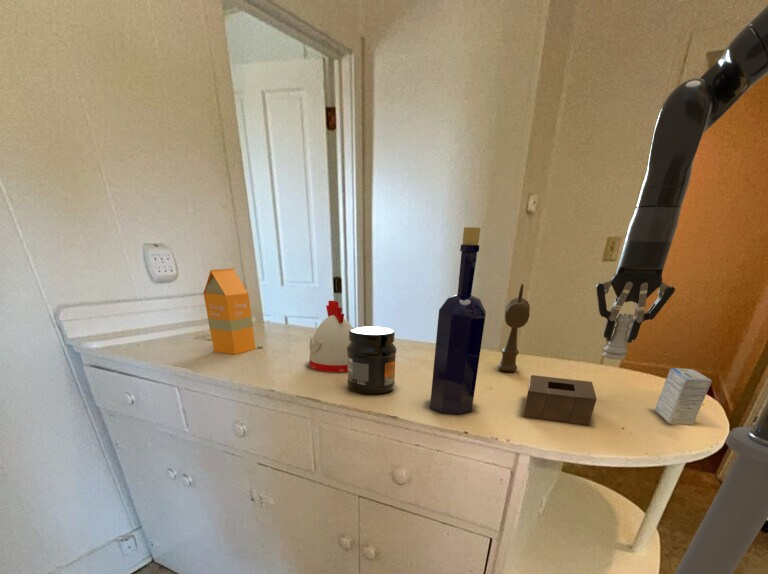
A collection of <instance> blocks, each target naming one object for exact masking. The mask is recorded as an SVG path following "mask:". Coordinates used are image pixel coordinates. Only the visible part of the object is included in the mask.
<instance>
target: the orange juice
mask: <svg viewBox="0 0 768 574" xmlns="http://www.w3.org/2000/svg"><path fill="white" fill-rule="evenodd" d="M204 287H205V288H204V290H203V293H202V294H203V299H204V304H205V309H206V315H207V323H208V327H209V331H210V332H209V333H210V338H211V343H212V348H213V352H216V353H222V354H228V355H234V356H235V355H239V354H243V353H245V352H246V353H247V352H250V351H253V350H255V349H256V341H255V335H254V333H255V332H254V324H253V316H252V310H251V304H250V296H249V295H250V294H249V292H248V290H247V289H246V287H245V285H244V284H243V282H242V281H241V278H240V277H239V276H238V274H237V272H236V271H235V268H223V269H222V268H221V269H211V270H209V273H208V277H207V281H206V284H205V286H204Z"/></svg>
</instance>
